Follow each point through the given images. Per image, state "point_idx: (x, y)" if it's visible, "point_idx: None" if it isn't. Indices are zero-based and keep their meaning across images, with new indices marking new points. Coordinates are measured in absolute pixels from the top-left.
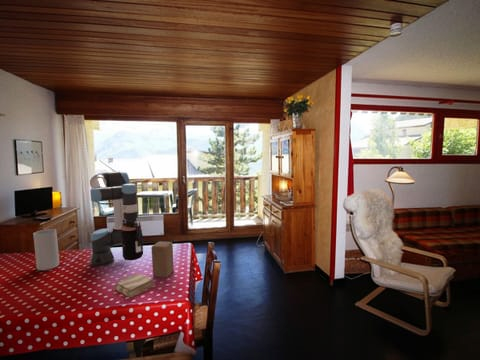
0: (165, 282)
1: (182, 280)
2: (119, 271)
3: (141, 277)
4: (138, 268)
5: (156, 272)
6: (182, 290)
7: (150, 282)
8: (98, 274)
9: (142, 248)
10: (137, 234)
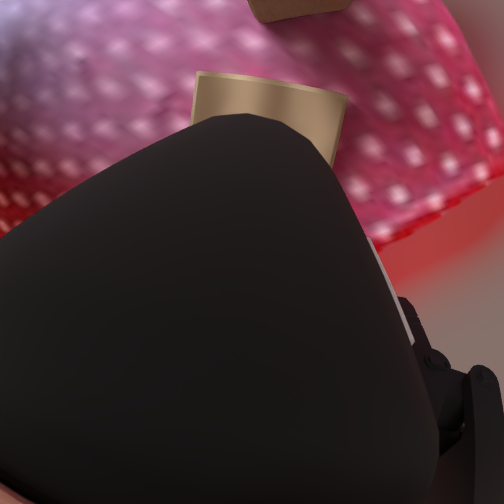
0: (373, 49)
1: (435, 15)
2: (58, 84)
3: (262, 106)
4: (108, 10)
5: (285, 14)
6: (484, 98)
7: (343, 117)
8: (22, 153)
9: (337, 181)
10: (435, 494)
